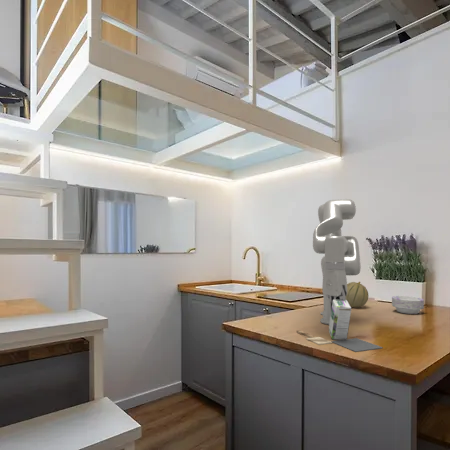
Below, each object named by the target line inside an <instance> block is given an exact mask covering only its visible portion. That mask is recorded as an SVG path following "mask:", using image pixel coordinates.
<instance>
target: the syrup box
mask: <svg viewBox="0 0 450 450" xmlns="http://www.w3.org/2000/svg"><path fill="white" fill-rule="evenodd" d="M351 314H352V307H351V306H350V304H349V303H348V301H347V300H341V299H336V300H333V302H332V309H331V317H330V324H329V325H328V332H329V335H330V337H331V341H337V340H345V339H348V333H349V326H350V320H351Z"/></svg>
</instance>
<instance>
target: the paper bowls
mask: <svg viewBox="0 0 450 450" xmlns="http://www.w3.org/2000/svg"><path fill="white" fill-rule="evenodd" d="M391 305H392V307H395V310H396V312H398V313H401V314H406V315H417V314H419V313H420V311H421V310H424V308H425V307H424V306H425V300H424V298H421V297H416V296H409V295H394V296H392V297H391Z"/></svg>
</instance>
